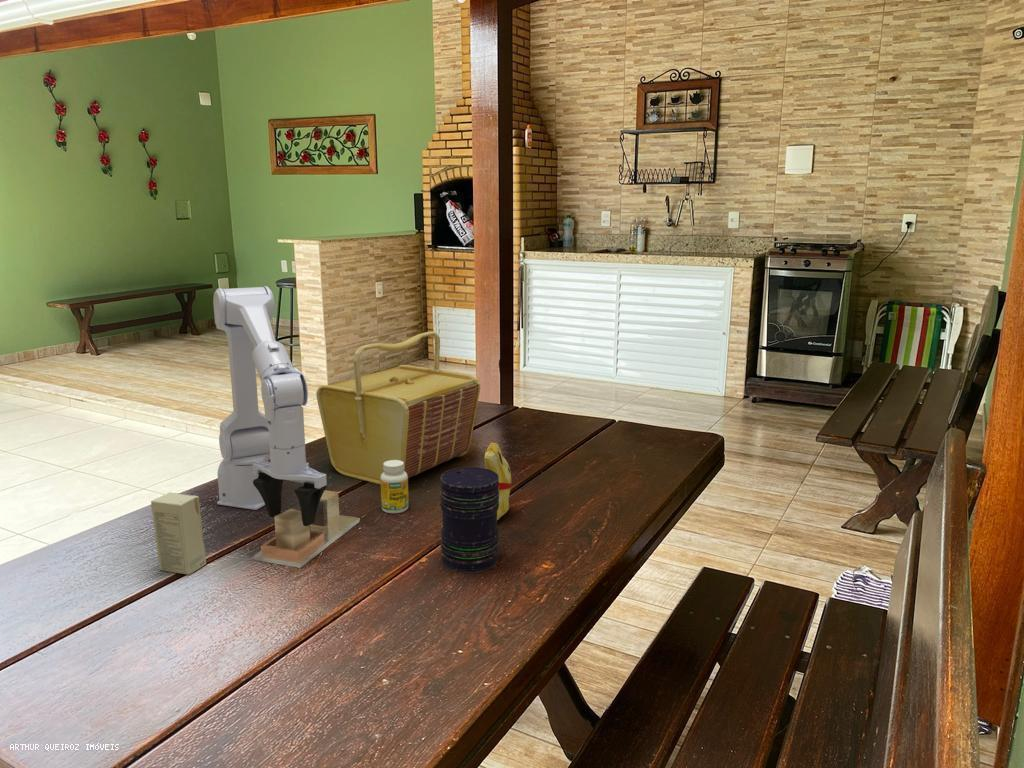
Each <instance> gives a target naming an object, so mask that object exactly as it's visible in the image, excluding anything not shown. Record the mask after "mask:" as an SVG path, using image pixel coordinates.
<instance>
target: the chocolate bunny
mask: <svg viewBox="0 0 1024 768" xmlns="http://www.w3.org/2000/svg"><path fill="white" fill-rule="evenodd" d="M483 461H484V465H485V469H489V470H492V471H494V472H496V473H497V474H498V476H499V482H498V484H499V508H498V510H497V521H498V520H500V518H501V517H503V516H504V515H505V514H506V513H507V512H508V511H509V510H510V502H509V500H510V499H509V498H510V493H511V489H512V485H513V483H512V475H511V474H512V471H511V467H510V465H509V463H508V461H507V460H506V458H505V457H504V456H503V454H502V449H501V448H500V445H499V444H498V443H497V442H496V443H495V442H491V443H490V444H489V445H488V446H487V449H486V450H485V453H484V460H483Z"/></svg>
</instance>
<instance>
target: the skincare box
mask: <svg viewBox="0 0 1024 768" xmlns="http://www.w3.org/2000/svg"><path fill="white" fill-rule="evenodd" d="M150 505H151V512H152V519H153V528H154V535H155V537H154V538H155V542H156V543H155V544H156V551H157V558H158V566H159V570H160V571H164V572H170V573H175V574H176V573H177V574H180V575H181V574H182V575H191V574H192V573H194V572H196V571H198V570H200V568H203V566H205V565H207V559H206V550H205V548H206V547H205V542H204V541H205V539H204V531H203V523H202V515H201V506H200V497H199V496H198V495H193V494H186V493H178V492H168V493H166V494H163V495H161V496H159V497H157V498H155V499H152V500H151V501H150Z"/></svg>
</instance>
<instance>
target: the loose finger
mask: <svg viewBox="0 0 1024 768" xmlns="http://www.w3.org/2000/svg"><path fill="white" fill-rule="evenodd" d="M273 518H274V529H275V530H274V531H275V536H276V547H281V548H287V549H293V550H297V549H299V548H300V547H302V546H303V545H304V544H306V543H307V542H308V541H310V538H311V534H310V525H309V526H304V525H303V522H302V515H301V510H297V509H294V508H290V509H287V510H285V511H283V512H282V513H281V514H279V515H277V516H275V517H273Z"/></svg>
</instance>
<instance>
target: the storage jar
mask: <svg viewBox="0 0 1024 768" xmlns="http://www.w3.org/2000/svg"><path fill="white" fill-rule="evenodd" d="M498 482H499V476H498V474H497V473H496V472H494V471H492V470H489V469H486V467H485V468H483V467H476V466H469V467H468V466H467V467H465V466H464V467H457V468H452V469H449V470H447V471H444V472H443V473H442V474H441V475H440V492H439V493H440V494H439V495H440V497H439V498H440V509H441V511H442V528H441V530H440V531H441V533H440V536H441V537H440V538H441V539H440V549H441V564H442V565H443V566H444V568H446V569H448V570H450V571H453V572H456V573H462V574H476V573H482V572H486V571H488V570H491V569H492V568H494V567H495V566H496V565H497V564H498V563H499V554H498V553H499V547H500V538H499V536H500V535H499V528H498V520H497V510H498V508H499V484H498Z"/></svg>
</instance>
